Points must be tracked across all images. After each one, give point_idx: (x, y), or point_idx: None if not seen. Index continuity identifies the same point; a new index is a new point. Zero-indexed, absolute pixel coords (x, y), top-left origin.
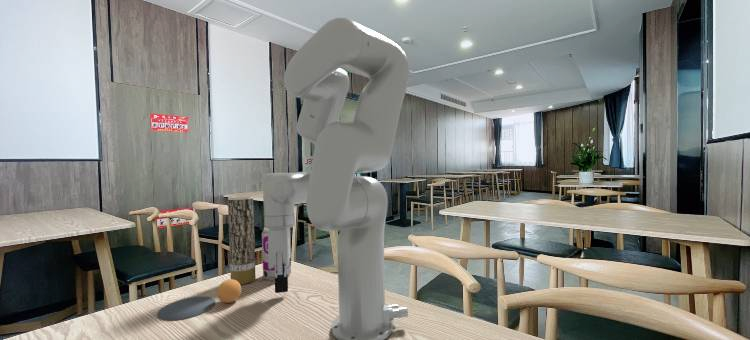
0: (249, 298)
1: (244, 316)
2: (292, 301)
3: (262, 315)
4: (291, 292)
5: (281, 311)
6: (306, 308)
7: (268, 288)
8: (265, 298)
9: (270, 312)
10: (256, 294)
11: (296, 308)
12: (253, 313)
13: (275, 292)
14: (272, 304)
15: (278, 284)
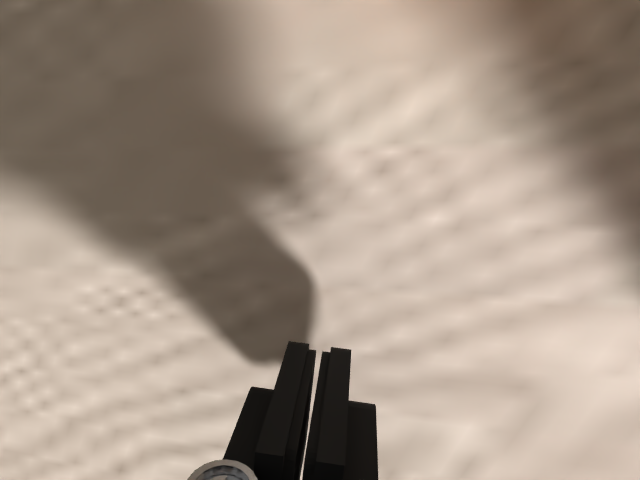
0: (414, 79)
1: (24, 49)
2: (202, 418)
3: (16, 198)
4: (381, 436)
5: (55, 331)
6: (65, 475)
7: (591, 270)
8: (344, 232)
9: (55, 257)
10: (488, 150)
11: (79, 424)
12: (65, 126)
13: (290, 343)
14: (195, 281)
15: (236, 427)
